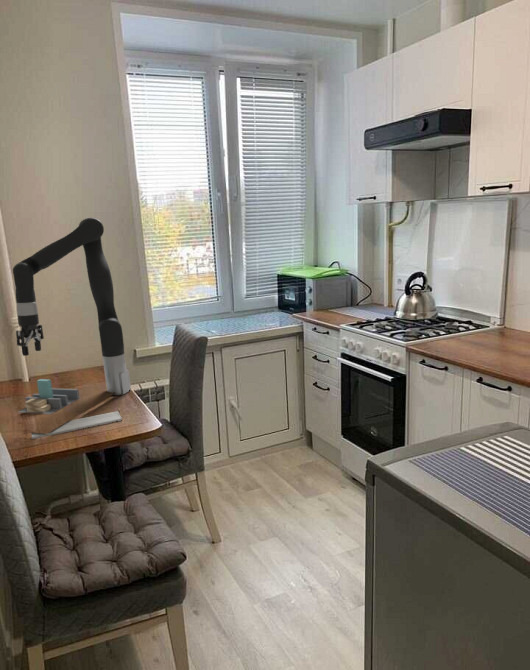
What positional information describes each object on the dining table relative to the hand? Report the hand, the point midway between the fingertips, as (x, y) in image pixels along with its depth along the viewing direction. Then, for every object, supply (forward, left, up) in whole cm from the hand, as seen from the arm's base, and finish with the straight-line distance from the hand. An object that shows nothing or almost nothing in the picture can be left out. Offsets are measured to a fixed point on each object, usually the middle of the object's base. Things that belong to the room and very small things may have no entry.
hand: (32, 353), depth 205 cm
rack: (-5, 0, -23) cm, 24 cm away
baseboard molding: (-28, +14, -24) cm, 39 cm away
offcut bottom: (-5, +7, -22) cm, 23 cm away
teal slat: (-5, +2, -22) cm, 22 cm away
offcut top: (-4, +7, -20) cm, 21 cm away
